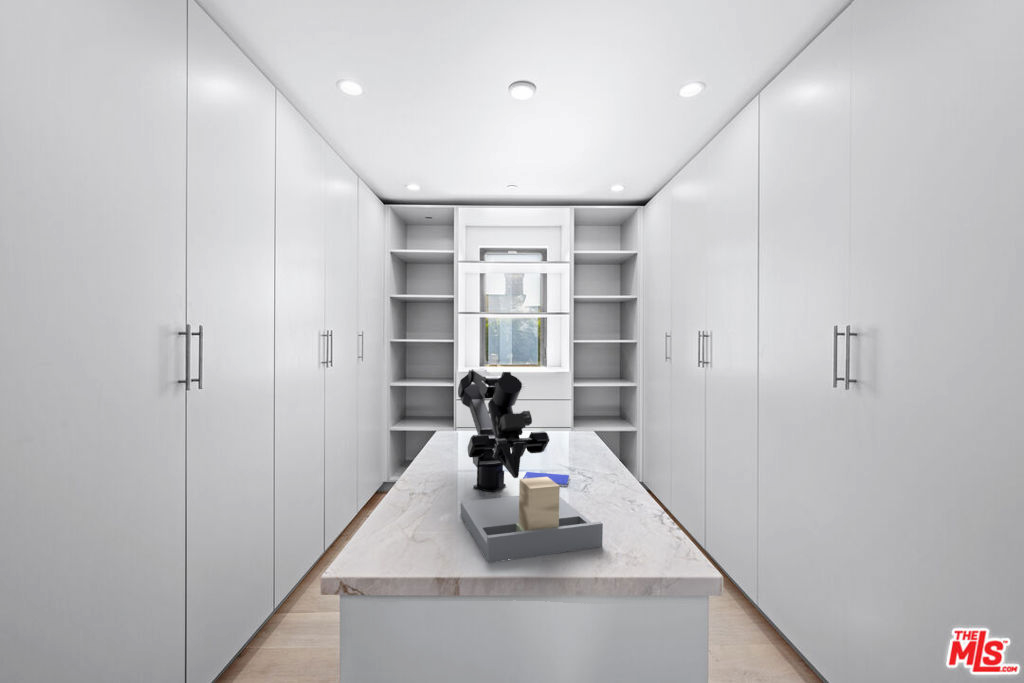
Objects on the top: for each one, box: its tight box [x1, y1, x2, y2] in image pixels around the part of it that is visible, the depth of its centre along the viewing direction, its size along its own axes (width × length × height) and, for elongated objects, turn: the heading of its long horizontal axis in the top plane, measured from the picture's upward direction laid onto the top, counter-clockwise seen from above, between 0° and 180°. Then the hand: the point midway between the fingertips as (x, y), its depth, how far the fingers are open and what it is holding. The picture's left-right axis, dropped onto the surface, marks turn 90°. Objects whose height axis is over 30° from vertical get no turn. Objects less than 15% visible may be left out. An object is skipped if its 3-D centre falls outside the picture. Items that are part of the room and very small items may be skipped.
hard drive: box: [522, 471, 570, 487], centre depth 131 cm, size 2×8×12 cm
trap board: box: [460, 495, 604, 564], centre depth 97 cm, size 23×23×4 cm
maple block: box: [518, 477, 561, 531], centre depth 91 cm, size 6×6×9 cm
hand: (516, 477), depth 104 cm, fingers closed
